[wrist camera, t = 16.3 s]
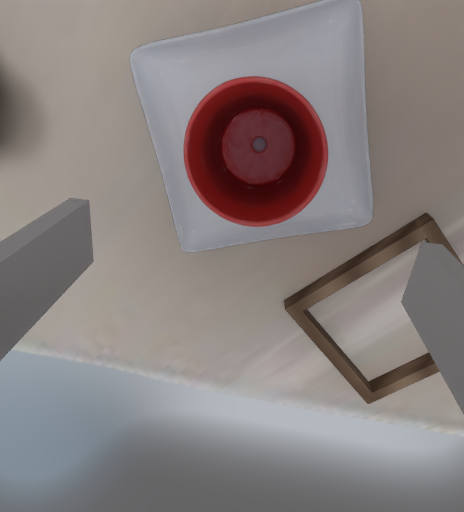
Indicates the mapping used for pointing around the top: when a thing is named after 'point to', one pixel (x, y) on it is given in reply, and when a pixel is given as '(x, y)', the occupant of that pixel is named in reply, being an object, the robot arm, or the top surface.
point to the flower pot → (255, 151)
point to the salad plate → (275, 67)
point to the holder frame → (346, 275)
